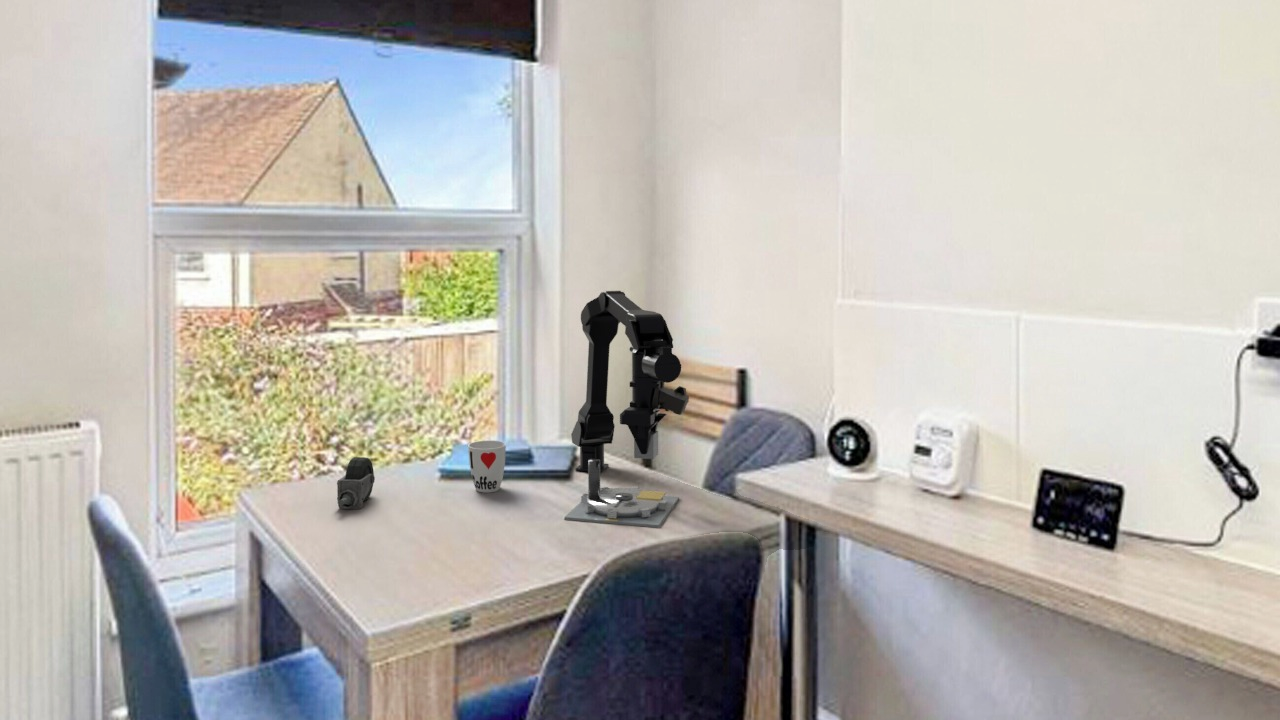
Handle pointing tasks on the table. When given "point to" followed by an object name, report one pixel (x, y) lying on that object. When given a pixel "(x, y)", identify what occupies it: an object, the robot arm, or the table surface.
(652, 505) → the sprocket
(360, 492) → the caster wheel
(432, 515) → the table surface
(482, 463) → the cup
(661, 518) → the base plate
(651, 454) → the link block
